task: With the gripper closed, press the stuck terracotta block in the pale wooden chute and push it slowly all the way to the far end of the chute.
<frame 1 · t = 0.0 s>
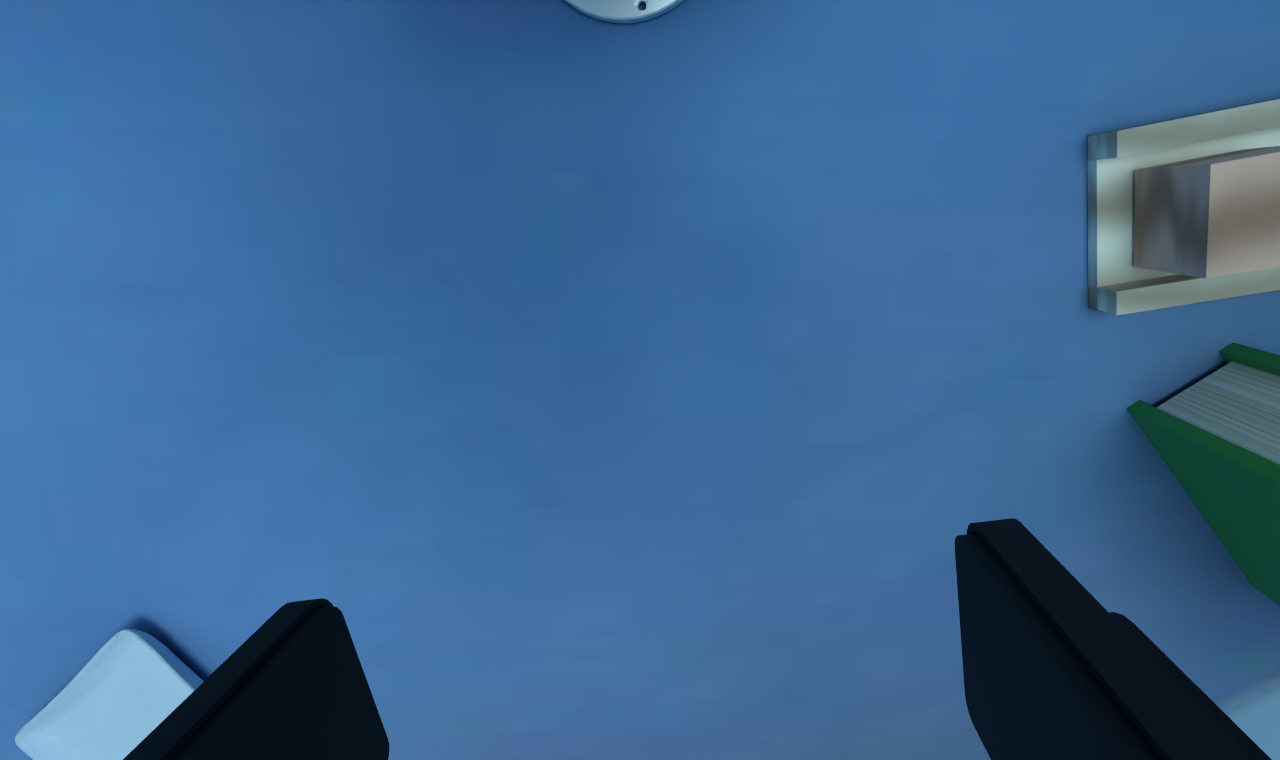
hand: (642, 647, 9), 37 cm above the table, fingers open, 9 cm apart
chute: (1260, 194, 39), on the table
salad plate: (180, 732, 62), on the table
hardback book: (1240, 469, 44), on the table
block: (1226, 210, 36), point 4 cm above the table, slide at 0.0 cm
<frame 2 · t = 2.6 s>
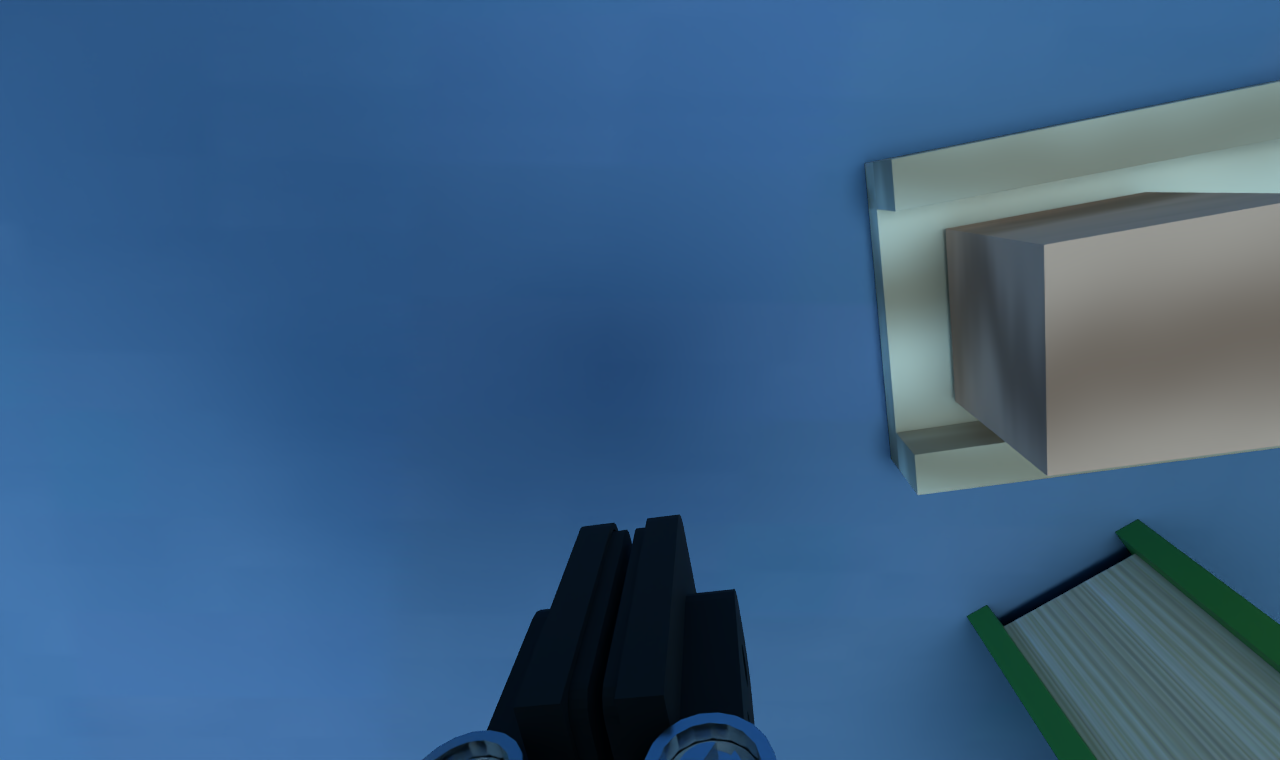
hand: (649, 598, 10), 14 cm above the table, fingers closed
chute: (1180, 270, 21), on the table
hardback book: (1156, 709, 27), on the table
block: (1101, 321, 18), point 4 cm above the table, slide at 0.0 cm
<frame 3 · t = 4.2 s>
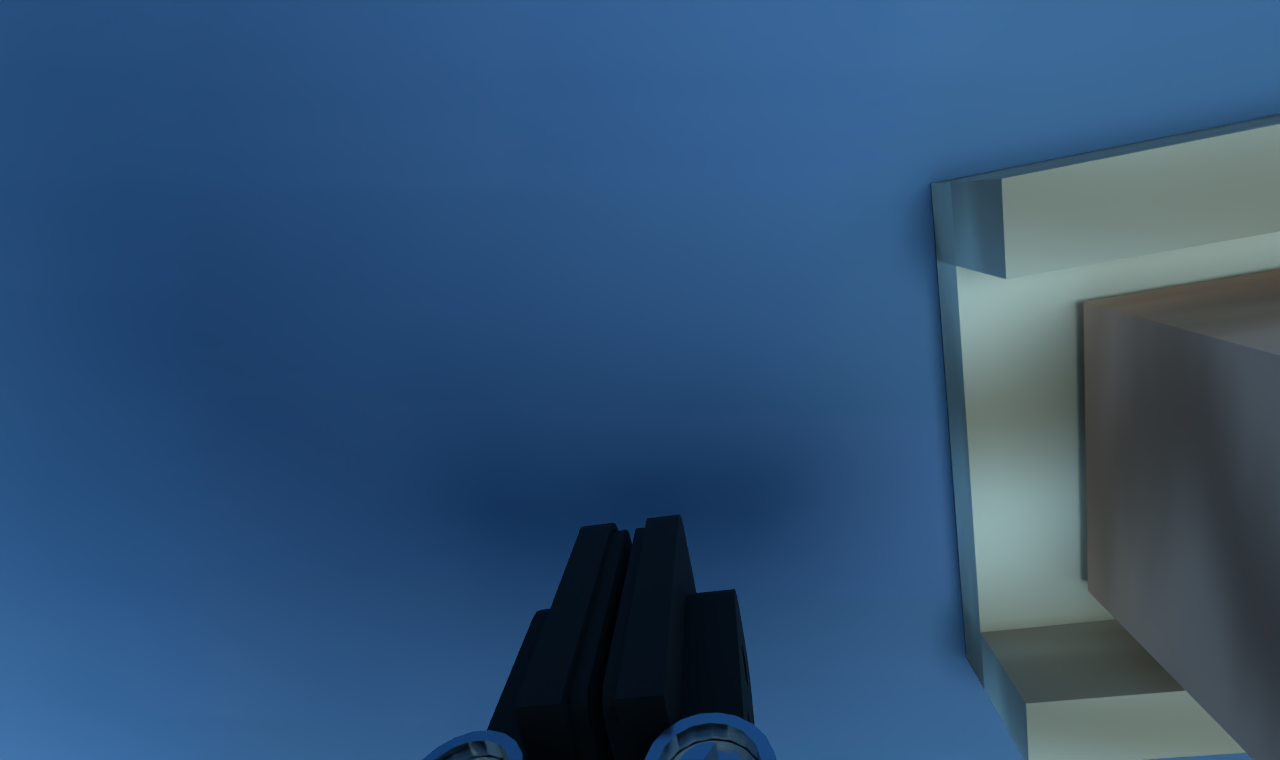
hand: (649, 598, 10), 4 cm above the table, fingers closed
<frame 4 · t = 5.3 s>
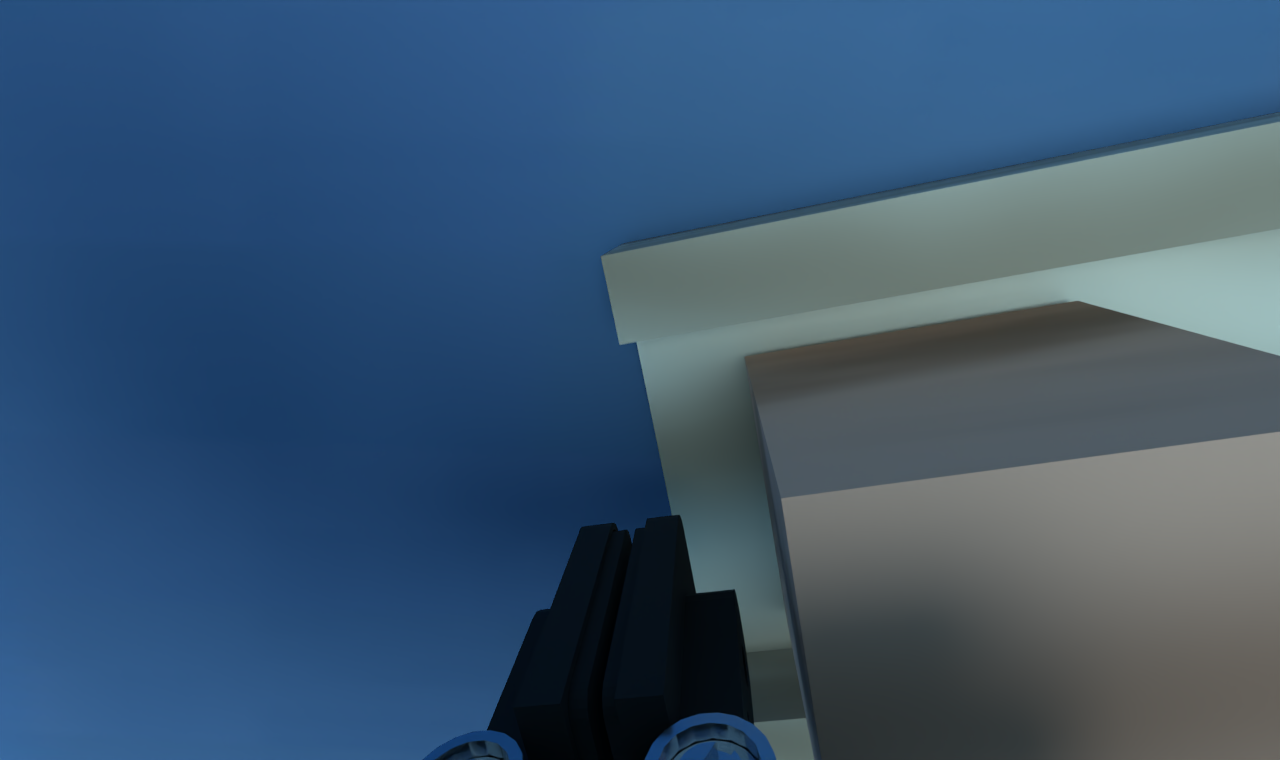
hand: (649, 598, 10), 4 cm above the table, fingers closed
chute: (1145, 415, 13), on the table
block: (982, 558, 10), point 4 cm above the table, slide at 0.1 cm, touching gripper
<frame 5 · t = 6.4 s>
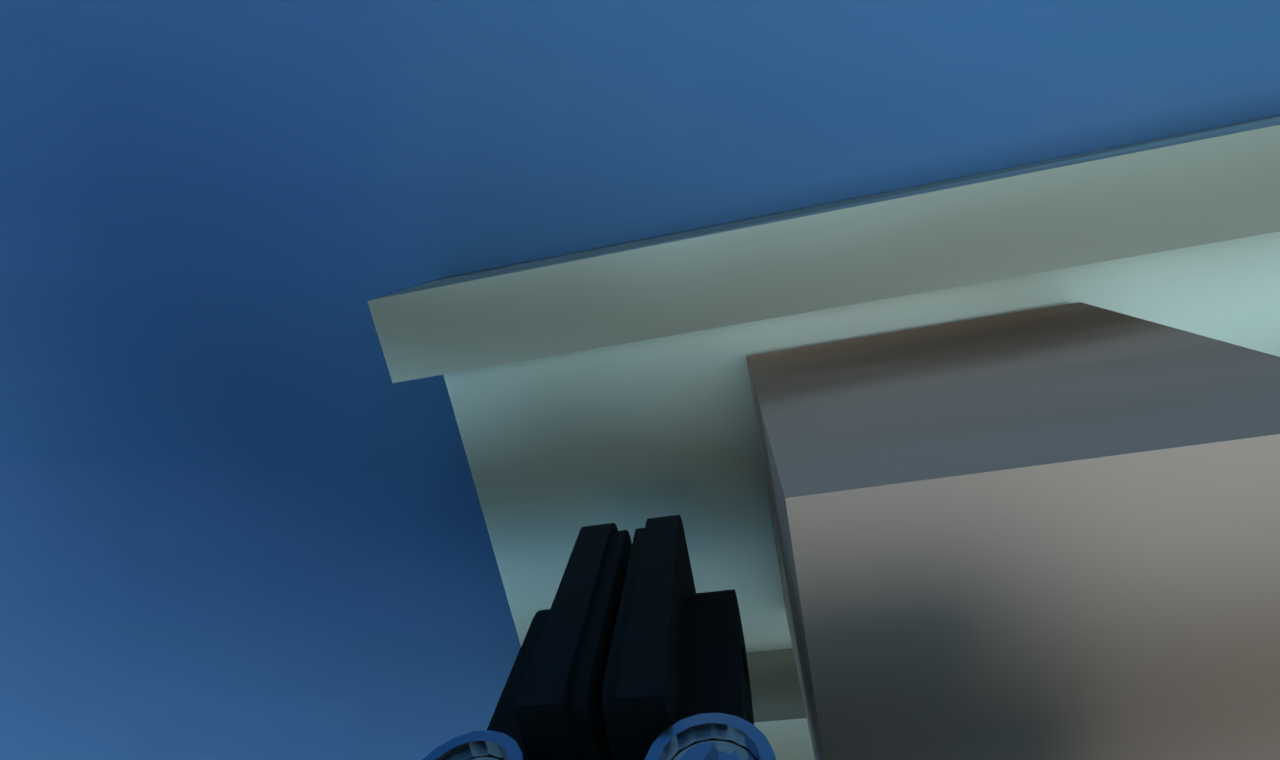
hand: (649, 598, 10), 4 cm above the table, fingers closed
chute: (934, 446, 14), on the table
block: (983, 558, 10), point 4 cm above the table, slide at 4.3 cm, touching gripper
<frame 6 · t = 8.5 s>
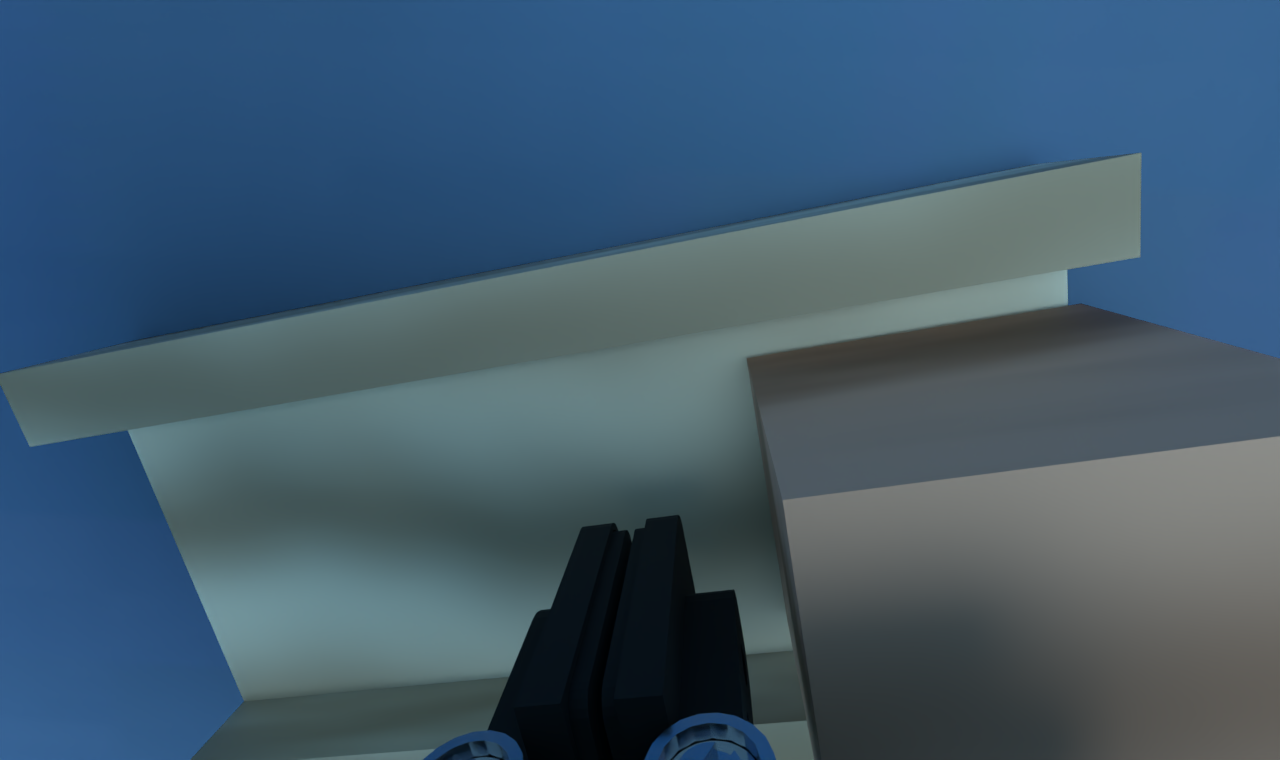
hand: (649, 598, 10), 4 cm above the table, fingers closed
chute: (589, 494, 15), on the table
block: (984, 561, 10), point 4 cm above the table, slide at 12.1 cm, touching gripper
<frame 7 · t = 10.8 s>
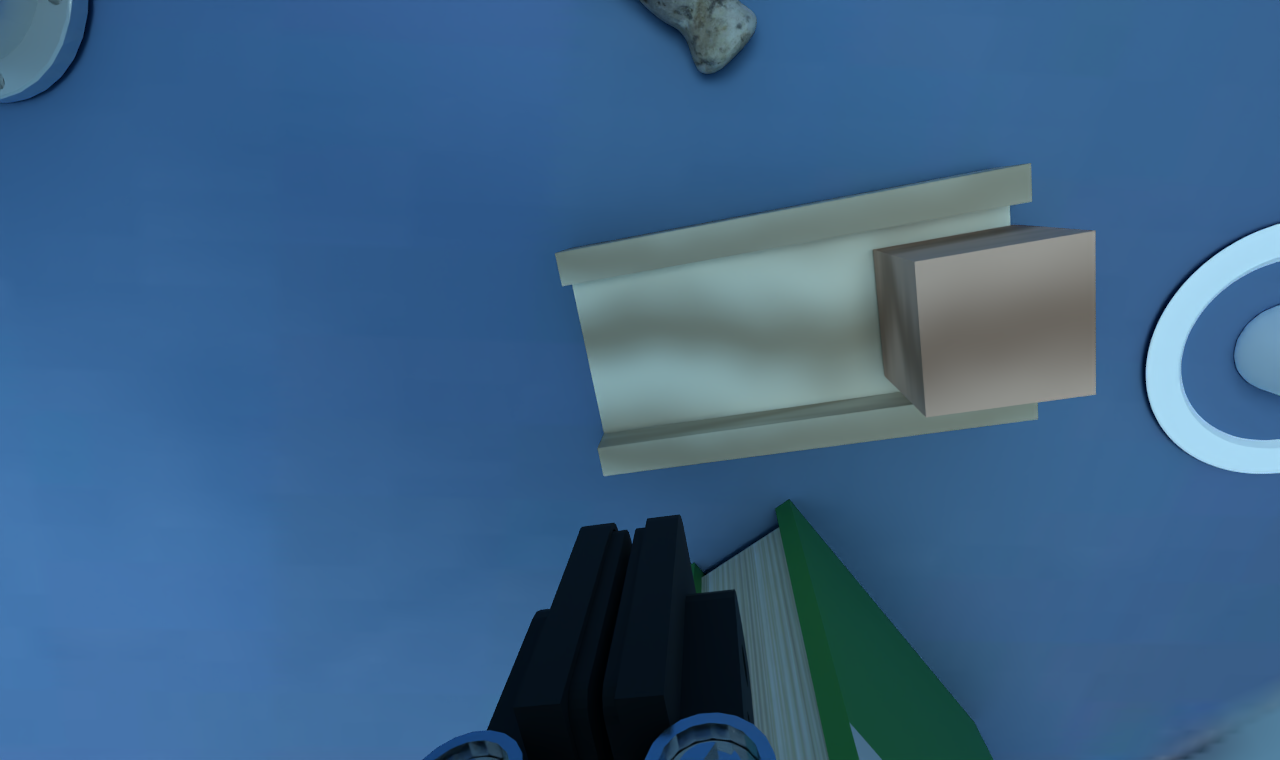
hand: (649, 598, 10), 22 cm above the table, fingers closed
candle holder: (1272, 347, 29), on the table
chute: (787, 323, 31), on the table
hardback book: (828, 645, 36), on the table
block: (973, 314, 26), point 4 cm above the table, slide at 12.0 cm
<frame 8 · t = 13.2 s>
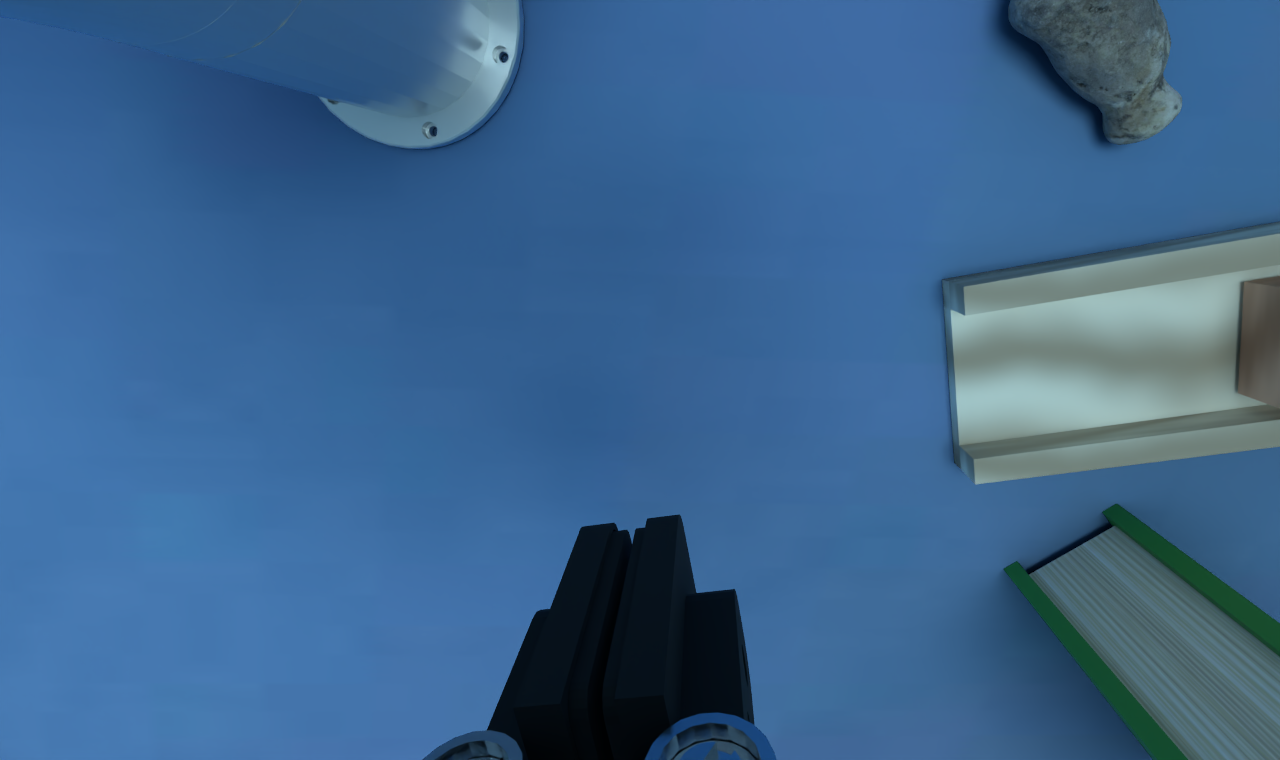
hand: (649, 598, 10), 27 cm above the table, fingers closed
chute: (1139, 345, 34), on the table
hardback book: (1132, 635, 39), on the table
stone: (1078, 37, 31), on the table
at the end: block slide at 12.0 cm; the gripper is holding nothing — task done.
